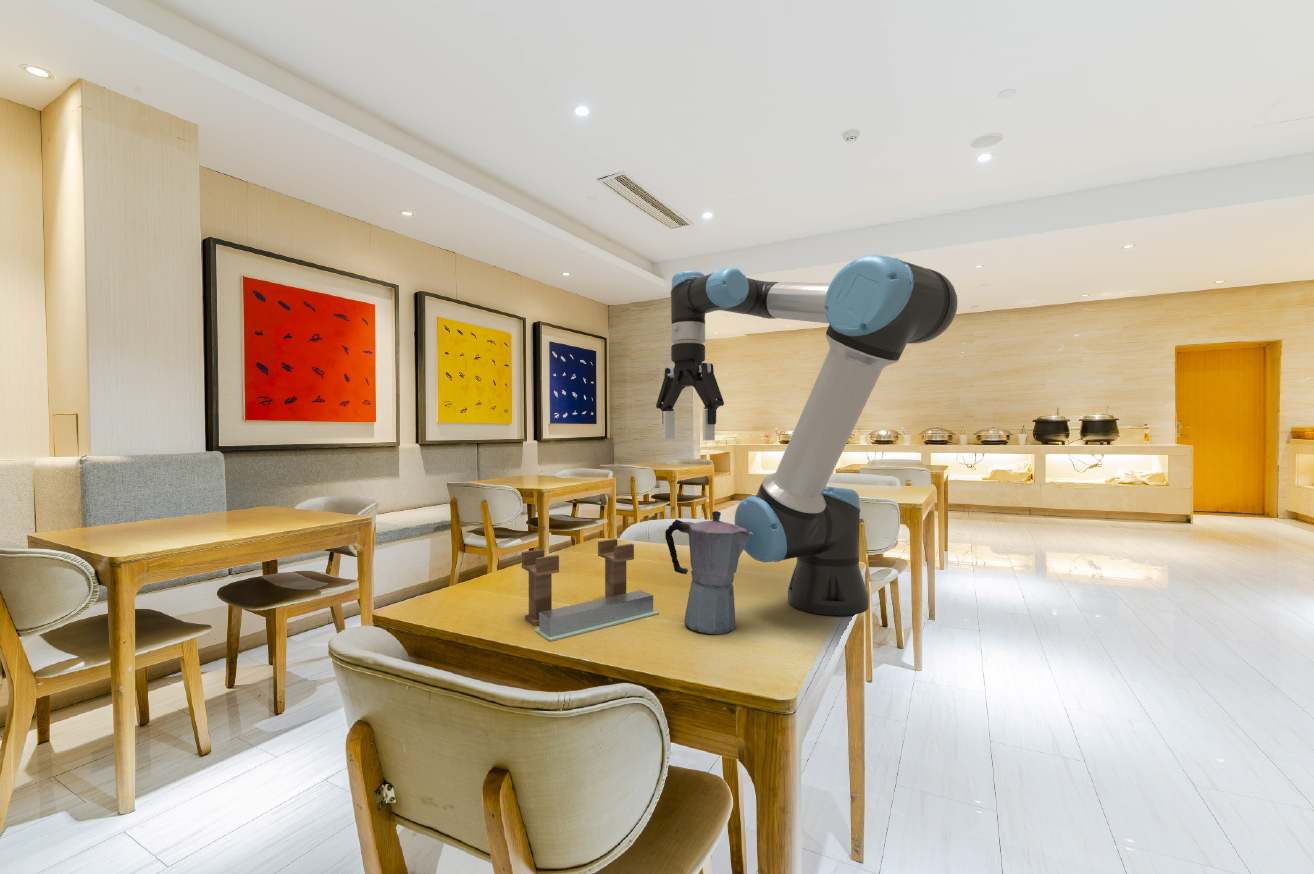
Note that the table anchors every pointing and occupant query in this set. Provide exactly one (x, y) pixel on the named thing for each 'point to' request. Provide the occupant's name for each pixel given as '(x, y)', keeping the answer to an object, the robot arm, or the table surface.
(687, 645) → the table surface
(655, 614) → the green mat
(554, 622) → the steel bar
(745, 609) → the table surface
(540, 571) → the walnut standards
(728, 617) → the moka pot
